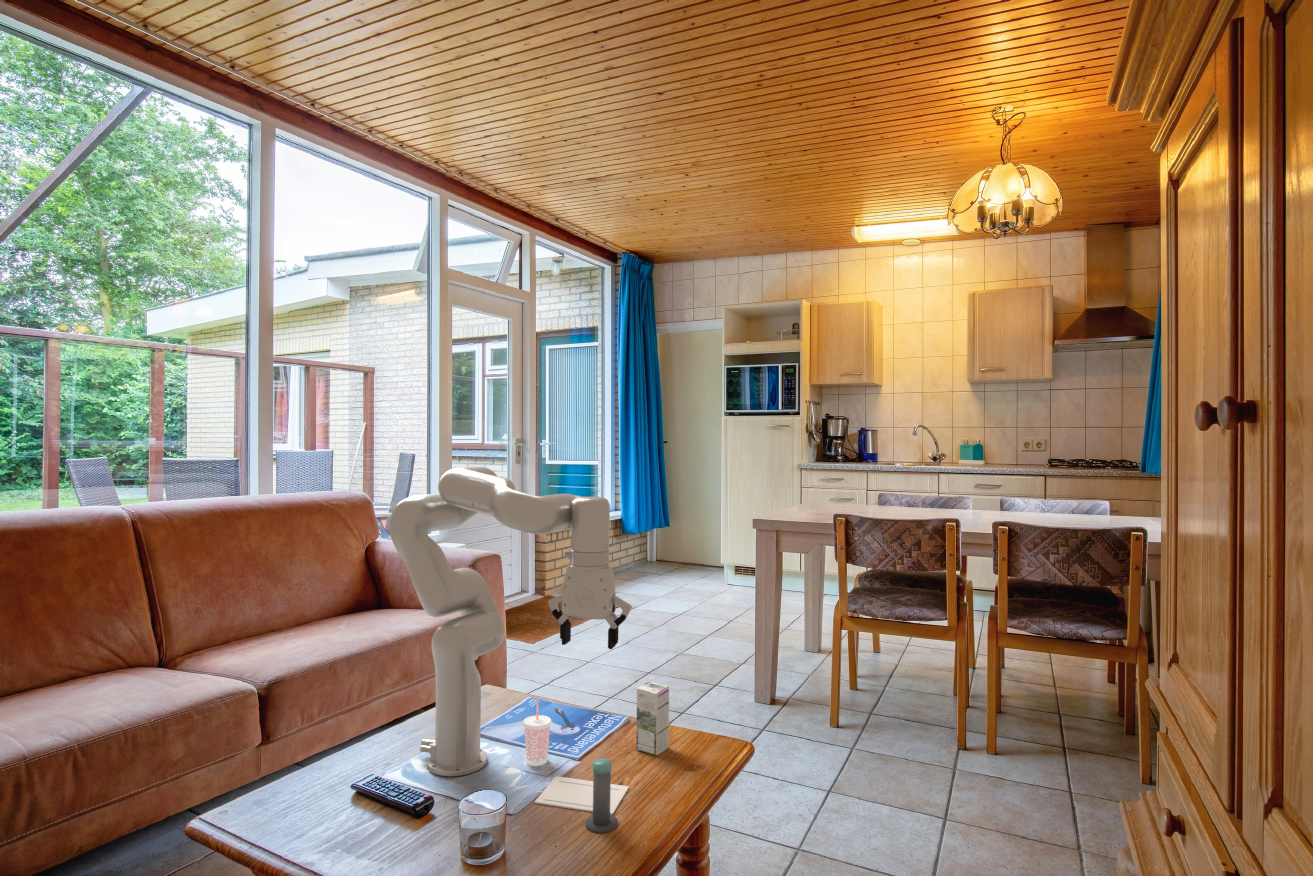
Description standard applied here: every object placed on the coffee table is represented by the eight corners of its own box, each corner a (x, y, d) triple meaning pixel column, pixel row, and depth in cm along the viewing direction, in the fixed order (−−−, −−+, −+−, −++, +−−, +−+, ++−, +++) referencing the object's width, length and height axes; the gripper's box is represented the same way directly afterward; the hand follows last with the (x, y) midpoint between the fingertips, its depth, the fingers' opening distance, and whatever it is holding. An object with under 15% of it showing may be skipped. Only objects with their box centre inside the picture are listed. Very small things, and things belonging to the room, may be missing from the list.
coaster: (580, 830, 130) (580, 828, 130) (591, 813, 136) (591, 811, 136) (612, 835, 129) (612, 833, 129) (621, 818, 135) (621, 816, 135)
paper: (534, 803, 139) (534, 801, 139) (556, 777, 150) (556, 776, 150) (612, 815, 136) (612, 813, 136) (629, 788, 146) (629, 786, 146)
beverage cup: (517, 765, 156) (518, 701, 156) (530, 753, 161) (531, 691, 161) (543, 769, 154) (544, 704, 154) (555, 757, 160) (556, 694, 160)
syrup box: (669, 747, 166) (670, 685, 166) (655, 757, 161) (656, 692, 161) (649, 741, 169) (649, 680, 169) (634, 750, 164) (635, 687, 164)
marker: (589, 825, 131) (590, 765, 131) (595, 816, 134) (596, 757, 134) (607, 828, 130) (608, 767, 130) (612, 818, 134) (613, 759, 134)
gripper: (542, 559, 141) (540, 646, 141) (626, 564, 136) (625, 654, 136) (556, 553, 148) (555, 636, 148) (637, 558, 144) (635, 643, 144)
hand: (588, 645), depth 142 cm, fingers open, 9 cm apart
